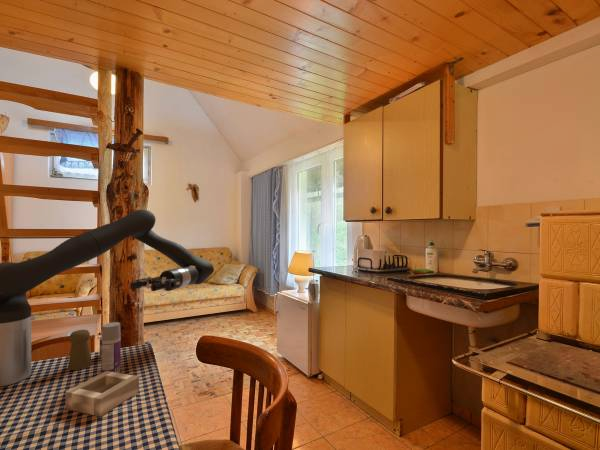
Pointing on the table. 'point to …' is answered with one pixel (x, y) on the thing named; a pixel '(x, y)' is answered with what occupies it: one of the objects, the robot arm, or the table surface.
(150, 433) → the table surface
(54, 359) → the table surface
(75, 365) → the olive pepper mill
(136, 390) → the square holder
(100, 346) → the pill bottle
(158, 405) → the table surface
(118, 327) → the container
